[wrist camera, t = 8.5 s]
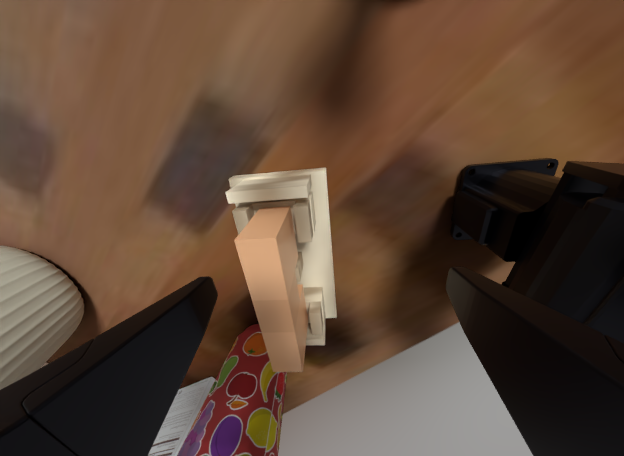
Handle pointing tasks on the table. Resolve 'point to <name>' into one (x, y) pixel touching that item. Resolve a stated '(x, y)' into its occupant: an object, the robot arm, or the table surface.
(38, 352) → the canister
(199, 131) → the table surface
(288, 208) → the tapered tan board
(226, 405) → the smoothie
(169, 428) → the supplement box
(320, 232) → the display stand
